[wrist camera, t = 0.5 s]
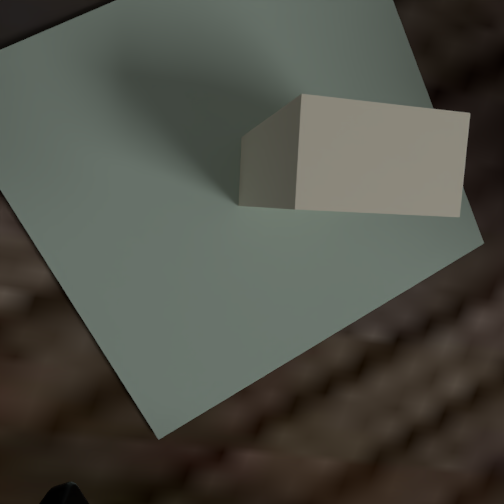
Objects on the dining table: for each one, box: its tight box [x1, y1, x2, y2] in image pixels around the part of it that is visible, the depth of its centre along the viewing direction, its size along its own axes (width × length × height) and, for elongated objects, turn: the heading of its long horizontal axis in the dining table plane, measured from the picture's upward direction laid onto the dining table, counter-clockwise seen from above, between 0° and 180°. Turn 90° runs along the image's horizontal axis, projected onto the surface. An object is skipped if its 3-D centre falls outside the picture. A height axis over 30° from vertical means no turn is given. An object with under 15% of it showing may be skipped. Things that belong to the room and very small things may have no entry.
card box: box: [238, 94, 470, 217], centre depth 18 cm, size 4×6×9 cm, turn 87°
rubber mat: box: [0, 0, 484, 440], centre depth 22 cm, size 20×22×1 cm
